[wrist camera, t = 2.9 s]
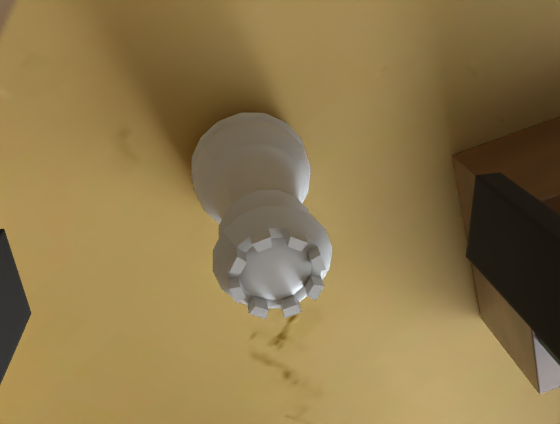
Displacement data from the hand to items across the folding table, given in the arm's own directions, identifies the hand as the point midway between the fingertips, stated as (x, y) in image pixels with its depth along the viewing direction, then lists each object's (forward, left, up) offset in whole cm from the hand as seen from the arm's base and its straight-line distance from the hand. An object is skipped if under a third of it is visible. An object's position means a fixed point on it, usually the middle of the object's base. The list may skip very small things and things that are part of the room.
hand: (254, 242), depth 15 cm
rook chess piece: (0, 0, -6) cm, 6 cm away
